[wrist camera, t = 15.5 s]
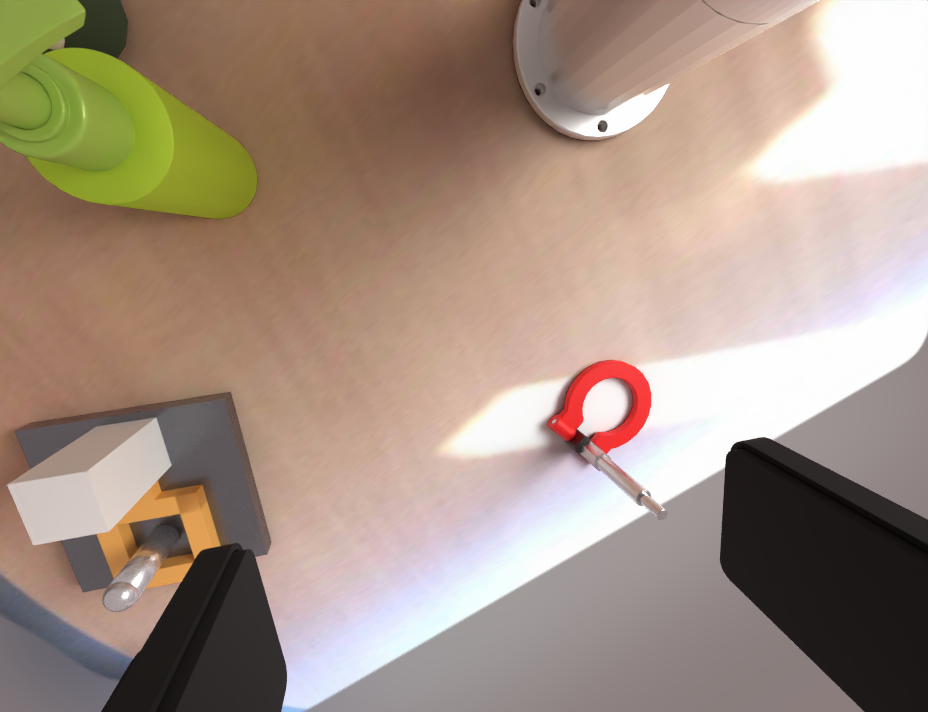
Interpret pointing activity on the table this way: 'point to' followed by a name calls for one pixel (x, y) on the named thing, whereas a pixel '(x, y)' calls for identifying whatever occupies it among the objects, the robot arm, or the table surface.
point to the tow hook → (605, 441)
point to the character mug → (99, 29)
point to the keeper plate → (165, 488)
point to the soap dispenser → (109, 123)
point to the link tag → (112, 496)
